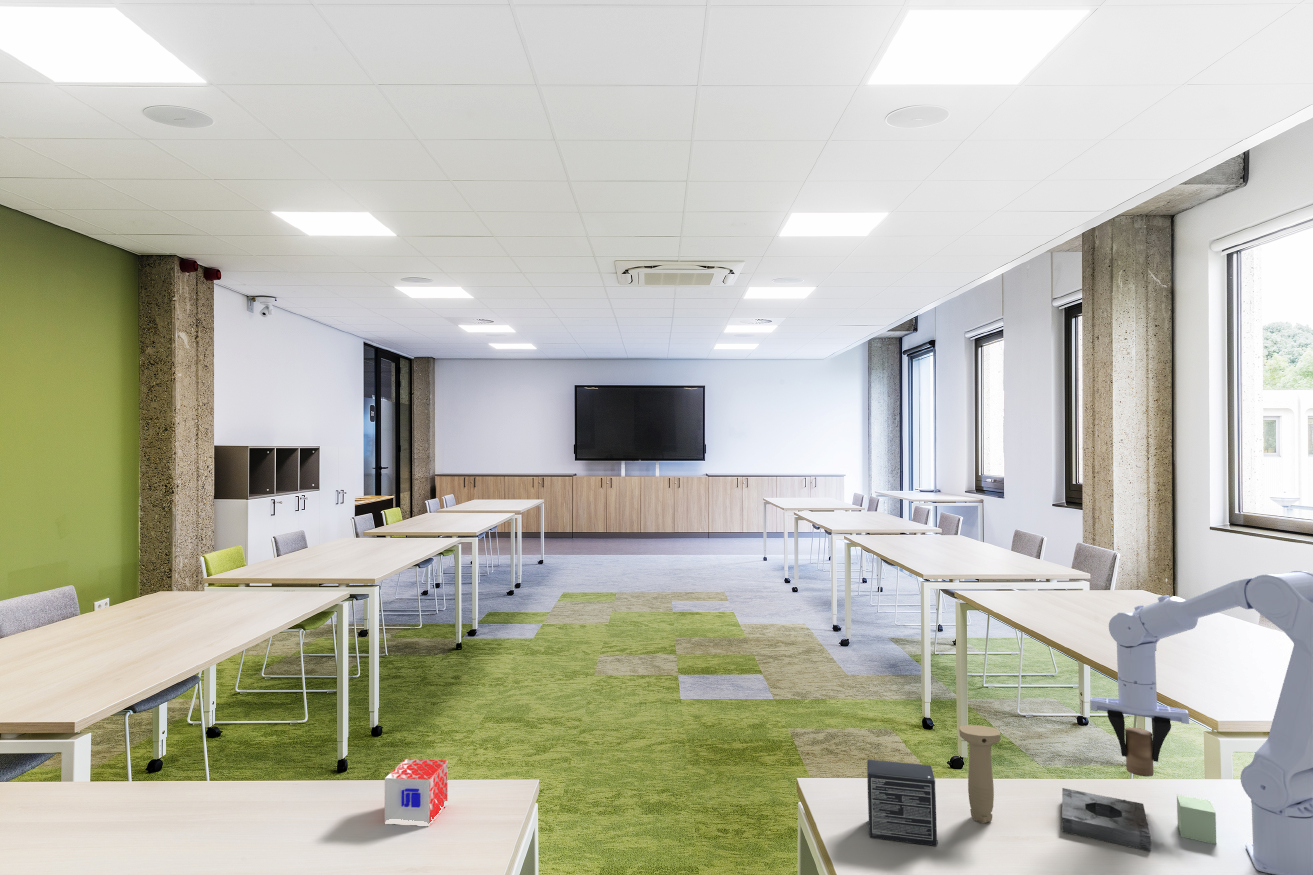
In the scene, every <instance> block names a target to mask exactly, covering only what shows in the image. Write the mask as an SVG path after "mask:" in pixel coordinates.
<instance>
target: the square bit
mask: <svg viewBox="0 0 1313 875" xmlns="http://www.w3.org/2000/svg"><path fill="white" fill-rule="evenodd" d="M1176 803H1177V804H1176V814H1177V815H1176V820H1177V827H1178V831H1179V833H1180V836H1181V838H1184V837H1186V838H1185V839H1189V838H1191V839H1190V840H1194V839H1195V840H1194V841H1199V840H1200V842H1203V841H1204V842H1205V843H1208V844H1212V845H1213V844H1215V845H1217V821H1216V820H1217V818H1216V816H1217V815H1216V811H1215V808H1214V806H1213V804H1212V802H1211V800H1209V799H1207V800H1206V799H1203V798H1196V797H1193V796H1187V795H1186V796H1185V795H1182V794H1176ZM1204 842H1203V843H1204Z"/></svg>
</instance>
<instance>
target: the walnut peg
mask: <svg viewBox="0 0 1313 875" xmlns="http://www.w3.org/2000/svg"><path fill="white" fill-rule="evenodd" d="M1152 740H1153V735H1152V732H1151V731H1149V730H1147V729H1143V728H1138V727H1125V744H1126V752H1127V757H1126V756H1125V761H1126V762H1125V764H1126V771H1127V772H1129V773H1131V774H1133V775H1136V776H1138V777H1139V776H1140V777H1152V776H1154V775H1155V774H1154V761H1153V743H1152Z"/></svg>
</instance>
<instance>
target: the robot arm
mask: <svg viewBox="0 0 1313 875" xmlns="http://www.w3.org/2000/svg"><path fill="white" fill-rule="evenodd" d="M1239 607H1240V608H1243V609H1245V610H1253V609H1254V610H1255V611H1256V612H1257V613H1258V614H1259V615H1261V616H1262V617H1264V618H1265V619H1266V620H1268V621H1269V623H1272V624H1273V625H1274V626H1276V628H1278V629H1279V630H1282V631H1283V632H1284V634H1285V635H1286V636H1287V637H1288V638H1289V640H1290V641H1291V642H1292V643H1293V647H1292V651H1291V655H1290V658H1289V660H1288V664H1287V668H1286V672H1285V675H1284V680H1283V683H1282V685H1281V690H1280V694H1279V697H1278V701H1277V704H1276V708H1275V712H1274V715H1273V719H1272V722H1271V725H1270V728H1269V729H1270V730H1269V734H1268V737H1267V739H1266V740H1265V741H1264V743H1263V744H1262V745H1261V746H1260V747H1259V748H1258V749H1257V750H1256V752H1255V753H1254V755H1253V758H1252V761H1251V762H1250V763H1249V764H1247V765H1246V766H1245V767H1244V768H1243V769H1242V771H1241V773H1240V784H1241V787H1242V788H1243V791H1244V792H1245V794H1246V795H1247V796H1248V797H1249V799H1250V802H1251V822H1252V823H1251V824H1252V843H1248V842H1247V843H1245V845H1244V846H1245V848H1246V851H1247V852H1248V854H1249V858H1250V860H1251V861H1252V864H1253V866H1254V868H1255V869H1256V871H1259V872H1260V873H1261V872H1263V873H1266V874H1272V875H1313V572H1310V571H1306V570H1293V571H1290V572H1286V573H1277V574H1275V573H1274V574H1269V573H1268V574H1266V573H1265V574H1259V575H1257V576H1255V577H1249V578H1244V579H1238V580H1235V581H1232V582H1228V583H1226V584H1223V585H1221V586H1219V587H1216V588H1214V589H1211V590H1208V591H1206V592H1203V593H1201V594H1198V595H1197V596H1194V597H1191V598H1189V599H1184V598H1182V597H1180V596H1177V595H1176V596H1170V595H1169V594H1166V595H1162V596H1159V597H1157V602H1154V603H1152V604H1151V603H1150V604H1149V605H1146V606H1144V605H1143V604H1141V605H1136V606H1135V607H1134V611H1132V612H1131V611H1130V612H1117V613H1116V614H1115V615H1114V616H1112V617H1111V618H1110V620H1109V622H1108V632H1109V634H1110V637H1111V638H1112V639H1113V640H1114V641H1115V642H1116V655H1117V656H1116V657H1117V658H1116V661H1117V662H1116V664H1117V688H1118V689H1117V690H1118V698H1110V697H1109V698H1108V697H1106V698H1105V697H1093V696H1090V698H1089V699H1090V700H1089V701H1090V702H1089V703H1090V711H1092V712H1098V711H1100V712H1101V711H1102V712H1106V713H1107V718H1108V720H1109V722H1110V724H1111V726H1112V729H1113V731H1114V733H1115V735H1116V737H1117V740H1118V743H1119V747H1120V753H1121V756H1122V757H1125V758H1126V757H1127V752H1126V739H1125V729H1126V726H1125V725H1126V724H1125V715H1129V716H1136V717H1143V718H1149V719H1150V718H1151V731H1152V732H1151V733H1152V743H1153V762H1159V756H1160V752H1161V749H1162V746H1163V743H1164V742H1165V739H1166V737H1167V736H1168V734H1169V733H1170V731H1171V729H1172V723H1171V722H1179V723H1181V724H1182V725H1183V724H1185V725H1189V724H1190V715H1189V714H1190V713H1189V711H1188V709H1184V708H1178V707H1172V706H1169V705H1168V706H1167V705H1164V704H1163V705H1162V704H1158V696H1157V695H1158V694H1157V669H1156V668H1157V667H1156V664H1157V663H1156V652H1157V644H1158V643H1159V641H1160V640H1162V639H1166V638H1168V637H1171V636H1174V635H1178V634H1181V633H1184V632H1187V631H1190V630H1191V631H1192V630H1194V629H1195V628H1196V626H1198V622H1199V619H1200V618H1203V617H1207V616H1210V615H1213V614H1217V613H1222V612H1224V611H1228V610H1231V609H1235V608H1239Z"/></svg>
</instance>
